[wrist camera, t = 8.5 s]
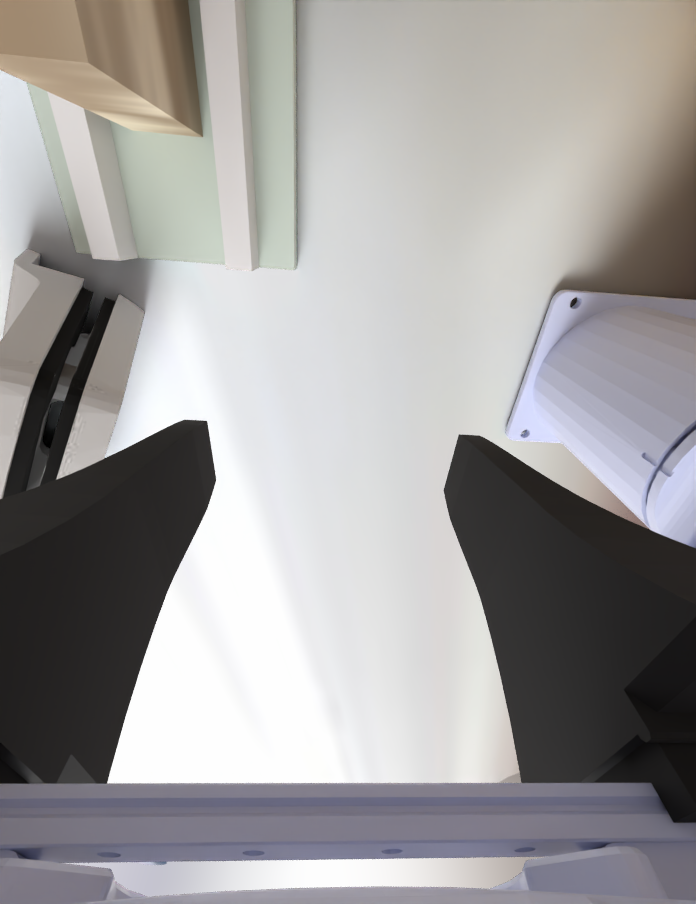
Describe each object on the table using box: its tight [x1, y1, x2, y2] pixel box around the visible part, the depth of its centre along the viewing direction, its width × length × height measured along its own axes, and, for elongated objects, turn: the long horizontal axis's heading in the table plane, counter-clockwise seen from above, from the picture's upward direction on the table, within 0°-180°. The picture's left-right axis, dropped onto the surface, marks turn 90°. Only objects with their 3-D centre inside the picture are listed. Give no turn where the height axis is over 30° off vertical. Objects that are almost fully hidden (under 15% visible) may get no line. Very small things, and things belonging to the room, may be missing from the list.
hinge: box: [0, 249, 145, 499], centre depth 17 cm, size 17×5×10 cm, turn 147°
